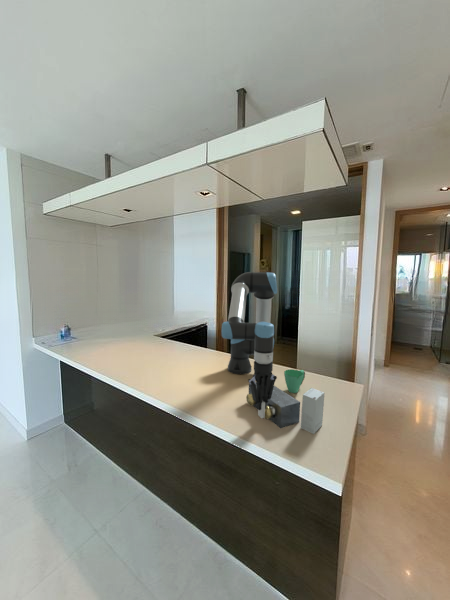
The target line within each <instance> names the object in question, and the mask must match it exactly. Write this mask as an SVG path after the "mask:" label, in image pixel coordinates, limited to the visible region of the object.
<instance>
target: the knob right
mask: <svg viewBox="0 0 450 600" xmlns="http://www.w3.org/2000/svg"><path fill="white" fill-rule="evenodd" d="M273 415H275V408H274V407H273V406H271V407H270V406H268V405H267V406H266V409H265V418H264V419H265V420H270V419H269V418H272V416H273Z"/></svg>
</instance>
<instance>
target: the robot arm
mask: <svg viewBox="0 0 450 600" xmlns="http://www.w3.org/2000/svg"><path fill="white" fill-rule="evenodd" d="M230 291H231V298H230V299H231V300H230V306H229V311H228V312H229V313H228V318H227V321H223V322H222V323H221V337H222V339H227V340H230V359H229V361H228V364H227V371H228V372H229V373H231V374H234V375H247V374H249V373H251V372H252V365H251V361H250V356H253V360H254V361H253V371H254V373H253V376H252V378H249V379H247V382H248V384H250V387H251V392H252V397H253V400H254V401H255V402H257V415H258V417H259V418H261V419H265V409H266V404H267V403H268V399H271V396H272V391H273V387H274V386H275V382H276V380H277V379H278V377H277V375H275V374H273V366H274V365H273V362H274V361H273V360H274V347H275V346H274V345H275V338H274V337H275V326H274V324H273V323H271V317H272V315H271V313H272V299H274V297H275V295H277V294H278V284H277V275H276V274H275V272H269V271H268V272H267V271H265V272H263V271H262V272H261V271H257V272H256V271H255V272H254V271H252V272H251V271H248V272H244V273H241V274H240V275H238V276H237V277H236V278H235V279H234V281H233V282H232V284H231V287H230ZM248 294H253V297H254V298H256V301H255V304H256V305H255V322H245V316H246V307H247V306H246V305H247V296H248ZM255 384H257V389H256V385H255Z"/></svg>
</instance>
